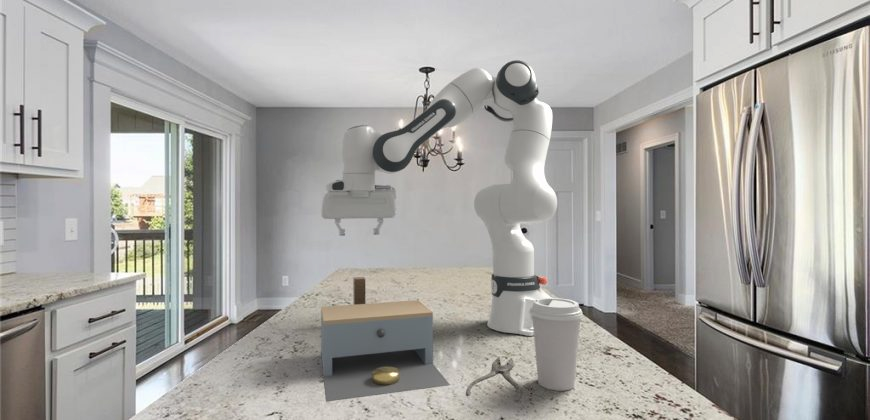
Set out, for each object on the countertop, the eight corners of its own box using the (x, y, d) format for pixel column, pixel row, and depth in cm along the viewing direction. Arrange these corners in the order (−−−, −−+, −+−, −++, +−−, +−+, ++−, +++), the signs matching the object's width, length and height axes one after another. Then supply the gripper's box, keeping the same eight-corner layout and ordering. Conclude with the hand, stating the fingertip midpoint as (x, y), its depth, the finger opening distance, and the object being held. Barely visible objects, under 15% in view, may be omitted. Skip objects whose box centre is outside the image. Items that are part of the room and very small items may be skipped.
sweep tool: (372, 321, 121) (372, 276, 121) (387, 346, 99) (387, 291, 99) (344, 323, 118) (344, 278, 118) (353, 349, 97) (352, 294, 96)
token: (398, 374, 83) (398, 366, 83) (399, 385, 78) (399, 376, 78) (372, 375, 82) (372, 367, 82) (371, 386, 77) (371, 377, 77)
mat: (416, 343, 102) (416, 343, 102) (450, 385, 78) (450, 384, 78) (321, 352, 95) (321, 352, 95) (326, 401, 72) (326, 401, 72)
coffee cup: (546, 369, 86) (546, 294, 85) (592, 383, 79) (592, 302, 79) (519, 383, 79) (519, 302, 79) (567, 399, 72) (566, 311, 72)
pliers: (466, 397, 72) (467, 355, 92) (466, 402, 72) (467, 359, 92) (524, 399, 71) (512, 357, 91) (524, 404, 71) (512, 361, 91)
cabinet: (418, 346, 100) (418, 300, 100) (434, 365, 88) (434, 313, 88) (321, 355, 94) (321, 306, 93) (323, 378, 81) (323, 322, 81)
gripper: (393, 185, 124) (394, 233, 124) (320, 185, 118) (321, 235, 118) (398, 184, 118) (398, 234, 118) (321, 184, 112) (322, 236, 112)
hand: (359, 235), depth 118 cm, fingers open, 8 cm apart
